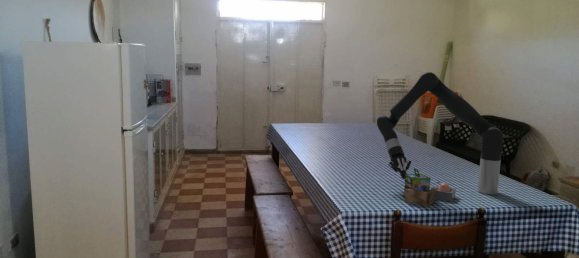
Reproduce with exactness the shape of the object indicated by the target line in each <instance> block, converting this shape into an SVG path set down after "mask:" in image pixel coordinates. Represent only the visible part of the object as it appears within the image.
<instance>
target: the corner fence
mask: <svg viewBox="0 0 579 258" xmlns="http://www.w3.org/2000/svg"><path fill="white" fill-rule="evenodd" d="M435 195H436V188H435V187H432V188H430V191H429V192H424V191H417V190H411V189H406V191H405V197H404V203H409V204H412V205H413V204H414V205H421V206H425V207H430V206H431V205H432V204H433V203H434V202H435V201H436V199H435Z"/></svg>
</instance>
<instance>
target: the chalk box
mask: <svg viewBox="0 0 579 258" xmlns="http://www.w3.org/2000/svg"><path fill="white" fill-rule="evenodd" d="M419 171H420V170H419V169H417V168H415V167H413V172H414V173H407V174H405V179H404V190H403V197H404V198H405V191H406V189H411V190H417V191H424V192H429V191H430V190H431V179H432V178H431V177H430V176H427V174H423V173H420V172H419Z"/></svg>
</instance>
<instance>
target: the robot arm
mask: <svg viewBox="0 0 579 258" xmlns="http://www.w3.org/2000/svg"><path fill="white" fill-rule="evenodd" d="M427 92H429V93H431V94H432V95H433V96H435V97H436V98H437V99H438V100H439V101H440V102H441V104H442V105H443V106H444V107H445V108H446V110H448V112H450V114H452V115H453V116H454V117H455V118H457V119H458V121H460V122H462V123H463V124H465V125H467V126H469V127H470V128H471V129H472V130H474V131H475V132H476V133H477V135H479V137H480V138H481V139H482V141H481V142H482V143H481V150H480V160H479V173H478V183H477V192H479V193H481V194H485V195H498V193H499V188H500V187H499V186H500V185H499V184H500V170H501V161H502V155H503V147H504V146H503V144H504V135H503V132H502V131H501V130H500V129H499V128H498V127H496V126H495V125H494V124H492V123H491V122H489V121H488V120H486V119H485V118H484V117H483V116H482V115H481V114H480V113H479V112H478V111H477V110H476V108H475V107H473V106H472V105H471V104H470V103H469V102H468V101H467V100H465V98H463V97H462V96H461V95H459V94H457V93H456V92H455V91H453V90H452V89H450V88H449V87H447V86H446V84H445V83H444V82H442V80H441V79H440V78H439V77H438V76H437V75H436V74H435V73H434V72H431V71H427V72H424V73H422V74H420V77H419V78H418V80H417V81H416V83H414V86H412V87H411V89H410V90H409V91H408V92H407V93H406V94H405V95H403V97H401V98H400V99H399V100H398V101H397V102H396V103H395V104H394V105H393V106H392V107H391V108H390V110H389V113H390V115H389V116H387V115H379V116H378V117H377V119H376V126H377V128H378V131H379V132H380V134H381V135H382V137H383V140H384V143H385V148H386V151H387V154H388V155H389V156H388V157H389V159H390V161H389V162H388V164H387V165H388V167H389V168H391V169H392V170H393V171H394V172H395V173H399V175H400V178H402V180H405V174H408V173H407V172H408V170H409V169H410V167H411V164H412V160H408V159H407V157H406V156H405V152H404V149H403V146H402V144H401V142H400V140H399V137H398V135H397V133H396V131H395V130H394V129H395V128H396V126H397V125H398V123H399V122H400V120H401V118H402V117H403V116H404V115H405V114H406V113H407V112H408V111H409V110H410V109H411V108H412V107H413V105H414V104H415V103H416V102H417V101H418V100H419V99H420V98H421V97H423V95H424V94H427Z"/></svg>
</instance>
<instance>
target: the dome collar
mask: <svg viewBox="0 0 579 258" xmlns="http://www.w3.org/2000/svg"><path fill="white" fill-rule="evenodd" d="M438 186H439V185H436V186H435V187H434V188H436V195H435V200H439V201H445V200H446V201H447V202H451V201H452V202H453V201H454V199H455V198H456V192H457V191H456V188H453V187H450V192H446V191H439V190H438ZM454 197H455V198H454Z"/></svg>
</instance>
